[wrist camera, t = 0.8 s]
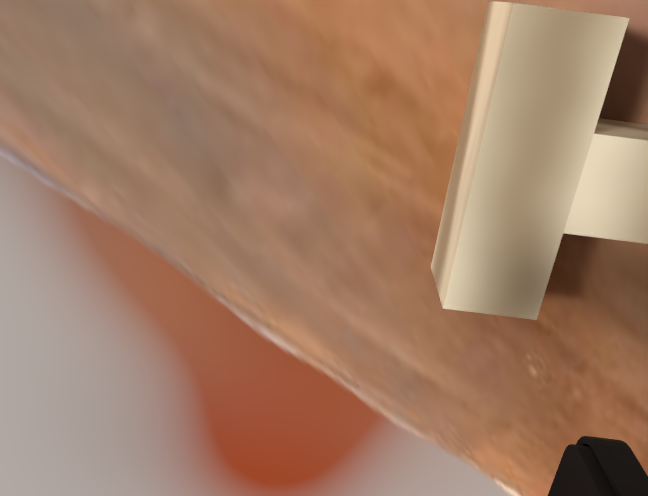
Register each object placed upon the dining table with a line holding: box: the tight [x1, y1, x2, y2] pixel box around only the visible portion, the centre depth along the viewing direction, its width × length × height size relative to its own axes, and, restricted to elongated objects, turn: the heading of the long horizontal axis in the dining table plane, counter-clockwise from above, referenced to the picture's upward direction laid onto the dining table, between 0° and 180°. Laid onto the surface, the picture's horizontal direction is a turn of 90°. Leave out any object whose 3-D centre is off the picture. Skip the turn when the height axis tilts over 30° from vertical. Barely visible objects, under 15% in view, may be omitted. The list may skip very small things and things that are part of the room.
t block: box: [431, 1, 648, 320], centre depth 24 cm, size 12×12×4 cm
